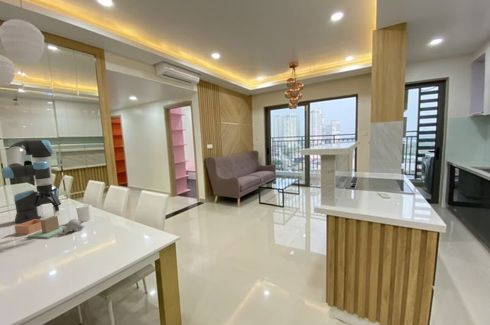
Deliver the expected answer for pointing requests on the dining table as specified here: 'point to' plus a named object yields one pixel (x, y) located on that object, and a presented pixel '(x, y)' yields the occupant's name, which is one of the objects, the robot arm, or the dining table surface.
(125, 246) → the dining table surface
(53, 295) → the dining table surface
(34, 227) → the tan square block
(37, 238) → the mat
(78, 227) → the round bodied animal figurine
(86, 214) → the candle holder
